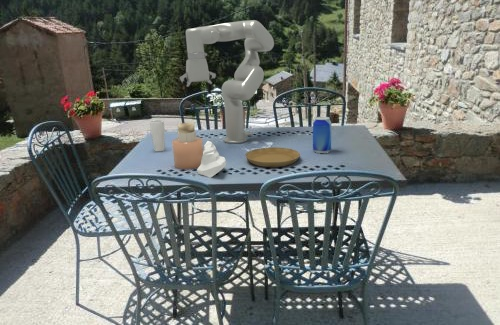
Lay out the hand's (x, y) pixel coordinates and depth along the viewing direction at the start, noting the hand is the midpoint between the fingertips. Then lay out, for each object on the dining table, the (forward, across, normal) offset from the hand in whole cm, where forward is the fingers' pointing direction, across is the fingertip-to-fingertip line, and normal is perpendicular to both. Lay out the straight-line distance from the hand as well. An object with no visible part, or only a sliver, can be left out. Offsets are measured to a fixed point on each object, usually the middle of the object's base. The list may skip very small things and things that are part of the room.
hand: (199, 93), depth 201 cm
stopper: (+16, +12, +19) cm, 28 cm away
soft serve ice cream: (+28, +7, +35) cm, 45 cm away
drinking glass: (+28, +20, -11) cm, 36 cm away
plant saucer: (+29, -22, +32) cm, 48 cm away
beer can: (+29, -48, +30) cm, 64 cm away
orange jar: (+27, +13, +19) cm, 36 cm away
